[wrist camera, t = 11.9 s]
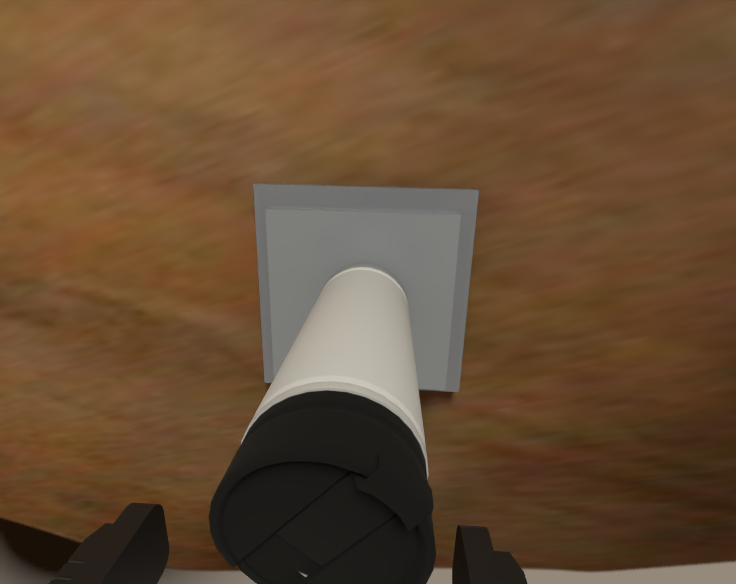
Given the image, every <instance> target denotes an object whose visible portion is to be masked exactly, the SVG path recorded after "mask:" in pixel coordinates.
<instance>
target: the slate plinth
mask: <svg viewBox="0 0 736 584" xmlns="http://www.w3.org/2000/svg"><path fill="white" fill-rule="evenodd" d="M253 187H254V205H255V222H256V240H257V257H258V275H259V292H260V310H261V327H262V345H263V362H264V380H265V383H272V382H273V380H274V378H275V376H276V375H277V373H278V371H279V369H280V367H281V365H282V363H283V362H284V360H285V358H286V356H287V354H288V352H289V350H290V349H291V347H292V345H293V343H294V341H295V339H296V338H297V336H298V334H299V332H300V330H301V328H302V326H303V325H304V323H305V321H306V319H307V317H308V315H309V313H310V312H311V310H312V308H313V306H314V304H315V302H316V301H317V299H318V297H319V295H320V293H321V291H322V290H323V288H324V286H325V284H326V283H327V281H328V280H329V279H330V277H331V276H333V275H334V274H335V273H336V272H337V271H339V270H341V269H343V268H345V267H348V266H351V265H355V264H371V265H375V266H379V267H381V268H383V269H385V270H387V271H389V272H390V273H391V274H393V275H394V276H395V277H396V278H397V279H398V280H399V282H400V283H401V284H402V286H403V288H404V290H405V292H406V296H407V299H408V307H409V316H410V324H411V332H412V340H413V348H414V356H415V365H416V373H417V381H418V389H419V390H425V391H446V392H459V385H460V375H461V365H462V355H463V345H464V335H465V325H466V315H467V305H468V295H469V285H470V275H471V265H472V255H473V245H474V235H475V225H476V215H477V205H478V195H479V190H477V189H462V188H425V187H388V186H351V185H313V184H276V183H257V184H253Z"/></svg>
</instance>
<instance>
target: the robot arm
mask: <svg viewBox="0 0 736 584" xmlns="http://www.w3.org/2000/svg"><path fill="white" fill-rule="evenodd" d="M168 555H169V542H168V536H167V530H166V523H165V517H164V510H163V507H162V506H161V505H159V504H144V503H131V504H129V505H128V506H127V507H126V508H125V510H124V511H123V512H122V513H121V515H120V516H119V517H118V519H117V520H116V521H115V523H114V524H110V523H106V524H104V525H103V526H102V527H101V528H99V529H98V530H97V531H95V532H94V533H93V534H91V535H90V536H89V537H88V538H86V539H85V540H84V541H83V542H82V544H81V545H80V546H79V547H78V549H77V550H76V551H75V552H74V553H73V555H72V556H71V557H70V559H69V561H68V563H66V564H65V565H64V566H63V567H62V568H61V569H60V571H59V572H58V573H57V575H56V576H55V579H54V580H52V581H51V582H50V583H49V584H157V583H158V581H159V579H160V577H161V576H162V574H163V572H164V569H165V567H166V564H167V560H168ZM452 584H527V581H526V578H525V575H524V572H523V570H522V569H521V568H520V566H519V565H518V563H517V562H516V561H515V559H514V558H513V557H512V555H511V554H510V552H501V551H494V550H493V546H492V542H491V538H490V535H489V531H488V529H487V528H486V527H477V526H462V525H458V527H457V532H456V541H455V550H454V559H453V569H452Z"/></svg>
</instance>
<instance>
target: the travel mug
mask: <svg viewBox="0 0 736 584" xmlns="http://www.w3.org/2000/svg"><path fill="white" fill-rule="evenodd" d="M432 511H433V497H432V490H431V488H430V486H429V485H428V464H427V455H426V448H425V438H424V430H423V422H422V414H421V406H420V397H419V389H418V381H417V373H416V365H415V356H414V348H413V340H412V332H411V324H410V316H409V307H408V299H407V296H406V292H405V290H404V288H403V286H402V284H401V283H400V282H399V280H398V279H397V278H396V277H395V276H394V275H393V274H391V273H390V272H389V271H387V270H385V269H383V268H381V267H379V266H375V265H371V264H355V265H351V266H348V267H345V268H343V269H341V270H339V271H337V272H336V273H335V274H334V275H333V276H331V277H330V279H329V280H328V281H327V283H326V284H325V286H324V288H323V290H322V291H321V293H320V295H319V297H318V299H317V301H316V302H315V304H314V306H313V308H312V310H311V312H310V313H309V315H308V317H307V319H306V321H305V323H304V325H303V326H302V328H301V330H300V332H299V334H298V336H297V338H296V339H295V341H294V343H293V345H292V347H291V349H290V350H289V352H288V354H287V356H286V358H285V360H284V362H283V363H282V365H281V367H280V369H279V371H278V373H277V375H276V376H275V378H274V380H273V382H272V384H271V386H270V387H269V389H268V391H267V393H266V395H265V397H264V399H263V400H262V402H261V404H260V406H259V408H258V410H257V412H256V414H255V416H254V418H253V419H252V421H251V423H250V424H249V426H248V428H247V430H246V433H245V435H244V437H243V439H242V441H241V446H240V448H239V449H238V451H237V453H236V454H235V456H234V458H233V460H232V462H231V464H230V466H229V468H228V469H227V471H226V473H225V475H224V477H223V479H222V481H221V483H220V484H219V486H218V488H217V490H216V493H215V495H214V497H213V499H212V501H211V506H210V512H209V523H210V532H211V535H212V538H213V540H214V543H215V546H216V548H217V550H218V551H219V552H220V553H221V555H222V556H223V557H224V558H225V560H226V561H227V562H228V563H229V564H230V566H231V567H232V568H233V567H235V566H236V565H238V567H239V569H240V570H241V571H242V572H243V573H244V574H246V575H247V576H248V577H249V578H250V579H252V580H253V581H254V582H255V583H257V584H426V583H427V581H428V579H429V577H430V575H431V573H432V571H433V568H434V563H435V557H436V549H435V539H434V531H433V522H432V514H431V513H432Z"/></svg>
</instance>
